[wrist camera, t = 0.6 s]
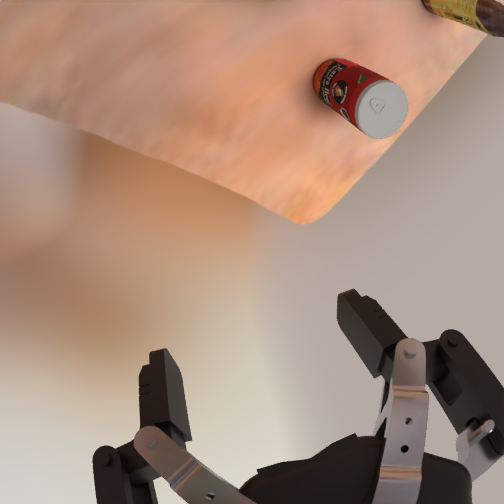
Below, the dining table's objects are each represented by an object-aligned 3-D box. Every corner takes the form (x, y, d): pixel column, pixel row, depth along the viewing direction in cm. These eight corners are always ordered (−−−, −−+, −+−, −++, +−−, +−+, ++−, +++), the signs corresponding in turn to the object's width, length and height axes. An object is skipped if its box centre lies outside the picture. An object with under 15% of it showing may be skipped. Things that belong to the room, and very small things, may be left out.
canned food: (319, 51, 29) (370, 73, 22) (364, 65, 32) (417, 92, 25) (305, 100, 35) (348, 134, 28) (350, 108, 37) (395, 143, 31)
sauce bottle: (421, 12, 24) (530, 58, 12) (418, -21, 19) (532, 14, 7) (445, 15, 24) (544, 62, 12) (443, -15, 19) (547, 24, 7)
